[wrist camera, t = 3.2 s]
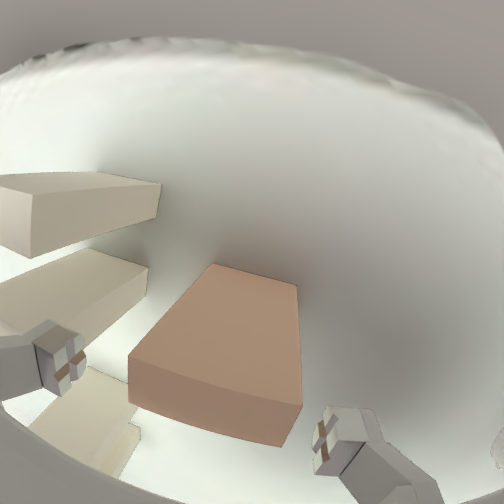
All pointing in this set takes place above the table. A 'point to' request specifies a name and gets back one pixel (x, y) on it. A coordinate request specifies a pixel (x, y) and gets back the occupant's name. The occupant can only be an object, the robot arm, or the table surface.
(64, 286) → the domino
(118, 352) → the table surface
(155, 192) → the domino
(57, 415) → the domino
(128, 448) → the domino
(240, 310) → the domino
